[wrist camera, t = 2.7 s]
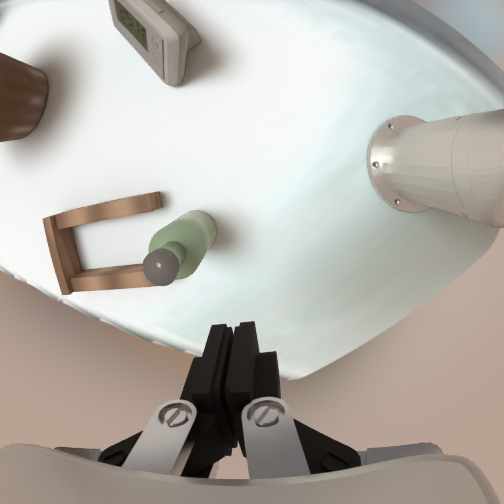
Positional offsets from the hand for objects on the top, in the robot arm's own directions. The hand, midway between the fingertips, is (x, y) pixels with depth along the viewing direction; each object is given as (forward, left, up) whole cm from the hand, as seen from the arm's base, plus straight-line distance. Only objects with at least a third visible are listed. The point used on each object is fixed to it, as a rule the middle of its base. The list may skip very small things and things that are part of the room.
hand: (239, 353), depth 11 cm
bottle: (+7, 0, -25) cm, 26 cm away
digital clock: (+9, -26, -25) cm, 38 cm away
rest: (+19, 0, -25) cm, 31 cm away
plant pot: (+34, -25, -25) cm, 49 cm away
